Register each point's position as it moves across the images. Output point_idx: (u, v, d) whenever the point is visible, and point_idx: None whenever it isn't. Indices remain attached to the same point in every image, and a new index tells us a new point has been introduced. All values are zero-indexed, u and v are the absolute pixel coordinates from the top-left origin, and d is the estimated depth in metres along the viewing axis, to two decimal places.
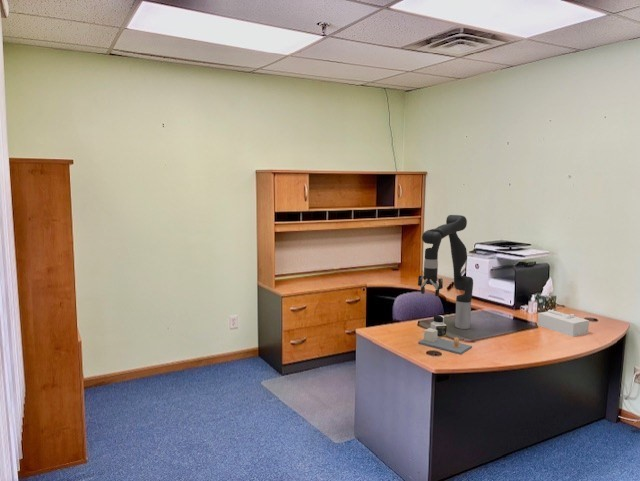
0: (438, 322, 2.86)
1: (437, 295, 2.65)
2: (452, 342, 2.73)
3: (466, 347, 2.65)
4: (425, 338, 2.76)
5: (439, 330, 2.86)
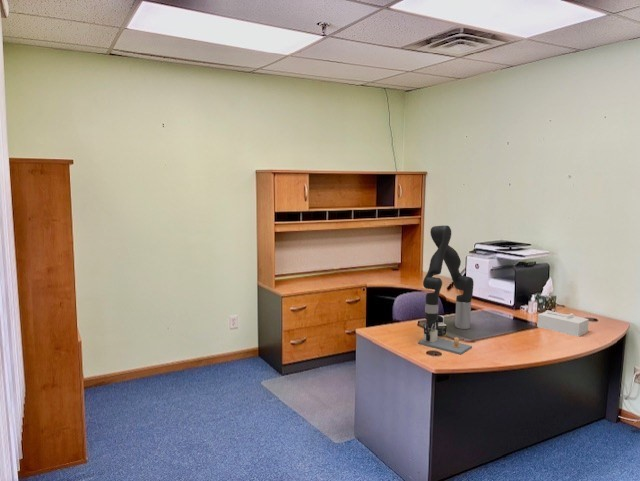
0: None
1: None
2: (452, 342, 2.73)
3: (466, 347, 2.65)
4: (425, 338, 2.76)
5: (439, 330, 2.86)
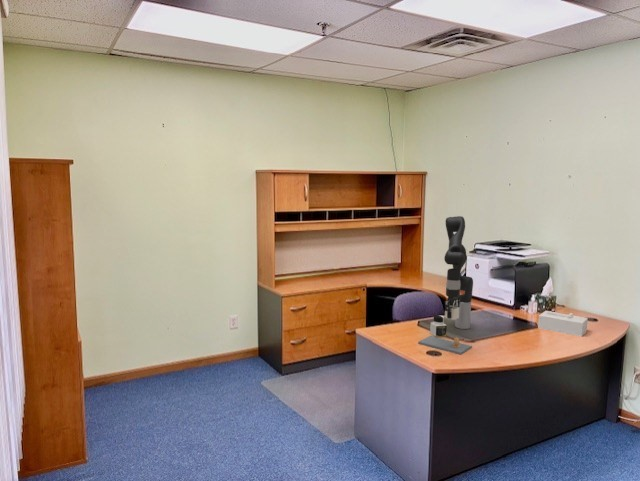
0: (438, 322, 2.86)
1: None
2: (452, 342, 2.73)
3: (466, 347, 2.65)
4: (446, 316, 2.65)
5: (439, 330, 2.86)
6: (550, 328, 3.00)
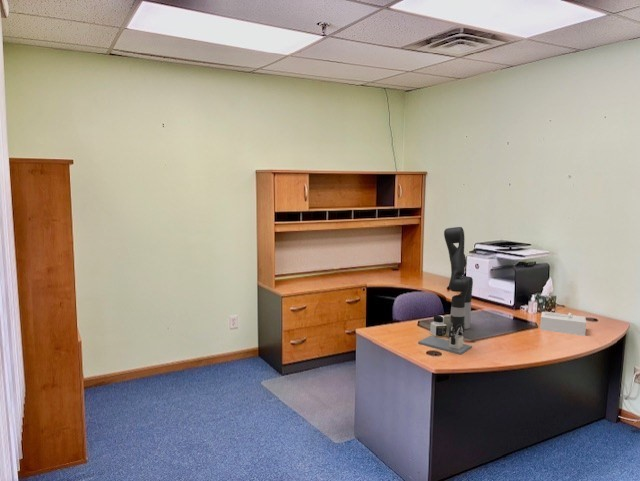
0: (438, 322, 2.86)
1: None
2: None
3: (466, 347, 2.65)
4: (451, 344, 2.65)
5: (439, 330, 2.86)
6: (553, 329, 2.98)
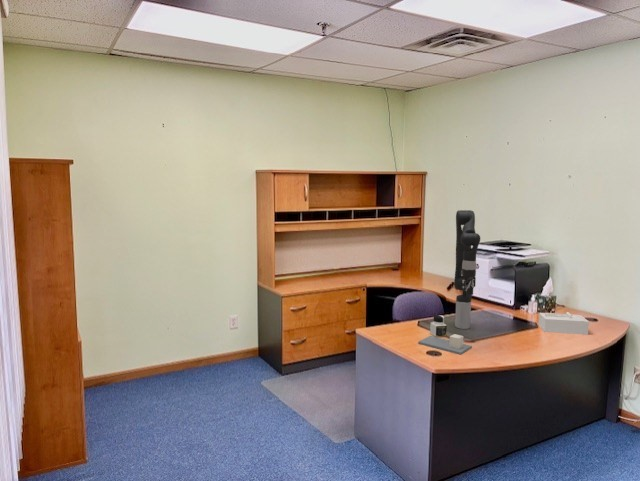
0: (438, 322, 2.86)
1: (472, 293, 2.75)
2: None
3: (466, 347, 2.65)
4: (451, 344, 2.65)
5: (439, 330, 2.86)
6: (557, 330, 2.96)
